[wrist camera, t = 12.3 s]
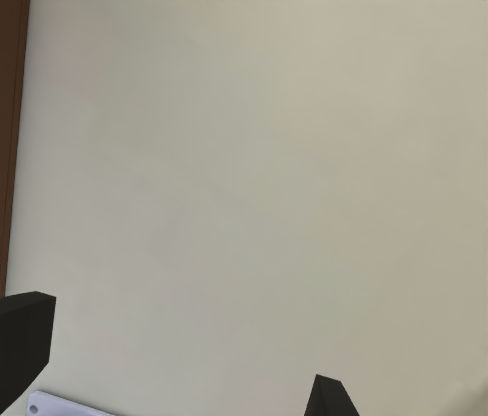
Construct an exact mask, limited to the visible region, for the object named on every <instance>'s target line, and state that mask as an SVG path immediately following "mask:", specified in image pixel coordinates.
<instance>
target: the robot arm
mask: <svg viewBox="0 0 488 416" xmlns="http://www.w3.org/2000/svg"><path fill="white" fill-rule="evenodd" d="M55 304H56V297H54V296H51V295H47V294H44V293H41V292H37V291H34V292H27V293H22V294H17V295H12V296H7V297H3V298H0V415H1V414H2V413H3V412H4V411H5V410H6V409H7V408H8V407H9V406H10V405H11V404H12V403H13V402H14V401H16V400H17V399H18V398H19V397H20V396H21V395H22V394H23V392H24V391H25V390H26V389H27V388H28V387H29V386H30V384H31V383H32V382H33V381H34V380H35V379H36V377H37V376H38V375H39V374H40V372H41V371H42V370H43V369H44V367H45V366H46V365H47V364H48V363H49V355H50V347H51V338H52V330H53V321H54V313H55ZM35 406H36V407H37V408H36V407H35ZM26 416H115V415H111V414H108V413H105V412H102V411H99V410H96V409H93V408H90V407H87V406H84V405H81V404H78V403H75V402H72V401H69V400H66V399H63V398H60V397H57V396H54V395H50V394H47V393H44V392H41V391H37V390H36V391H34V392H32V393H31V394H30V395H29V396H28V399H27V407H26ZM304 416H360V415H359V414H358V412H357V410H356V408H355V406H354V405H353V403H352V401H351V399H350V397H349V396H348V394H347V392H346V390H345V388H344V387H343V385H342V383H341V381H338V380H335V379H331V378H328V377H324V376H321V375H318V374H316V377H315V381H314V384H313V387H312V391H311V394H310V398H309V401H308V404H307V408H306V411H305V414H304Z"/></svg>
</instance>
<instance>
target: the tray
mask: <svg viewBox="0 0 488 416" xmlns="http://www.w3.org/2000/svg"><path fill="white" fill-rule="evenodd" d="M28 10H29V0H0V298H3V297H4V293H5V281H6V270H7V258H8V246H9V234H10V223H11V211H12V199H13V187H14V175H15V164H16V152H17V140H18V128H19V116H20V105H21V93H22V81H23V69H24V58H25V46H26V34H27V22H28Z"/></svg>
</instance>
